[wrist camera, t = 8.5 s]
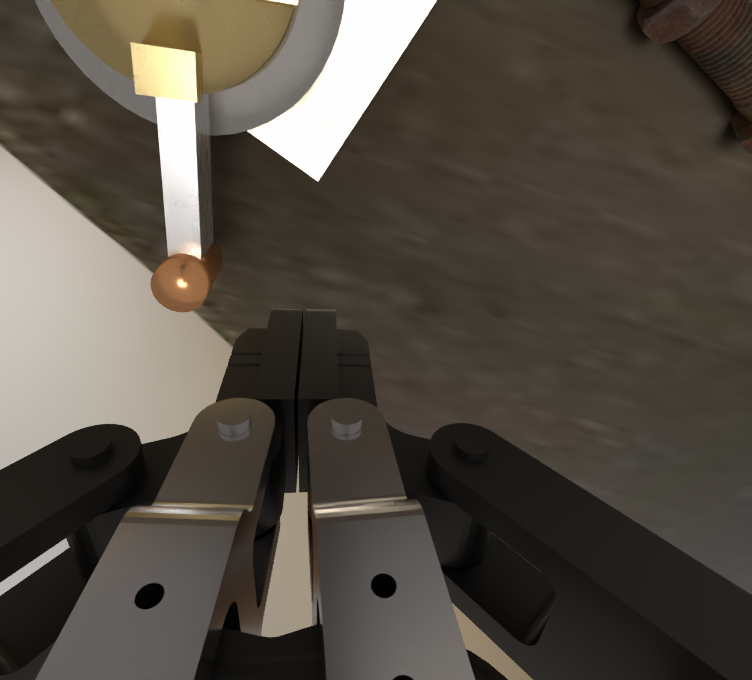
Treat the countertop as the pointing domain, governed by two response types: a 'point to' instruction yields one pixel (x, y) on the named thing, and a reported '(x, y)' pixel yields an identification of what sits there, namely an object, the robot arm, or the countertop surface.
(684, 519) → the countertop surface
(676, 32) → the bolt
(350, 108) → the cap housing
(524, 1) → the countertop surface
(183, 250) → the yellow disc with lever
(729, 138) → the countertop surface
